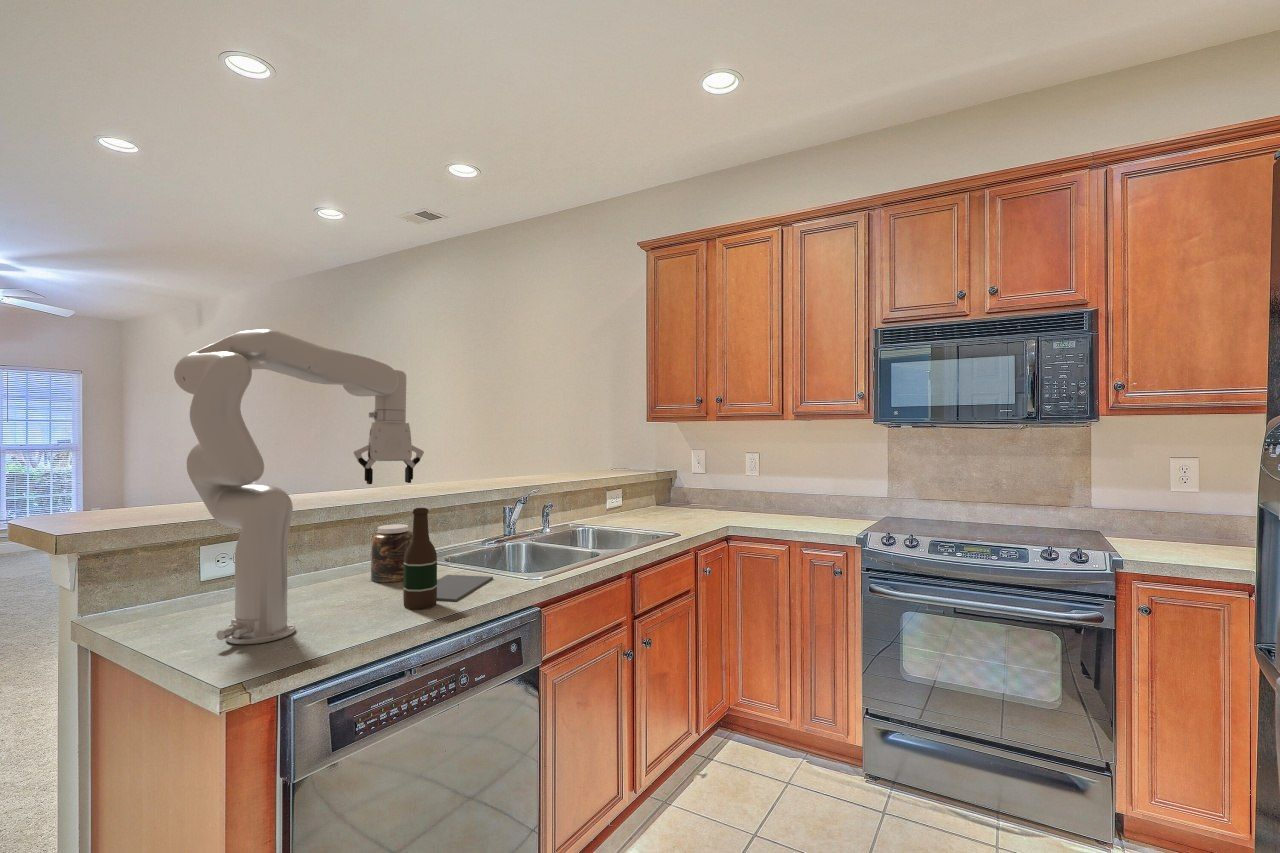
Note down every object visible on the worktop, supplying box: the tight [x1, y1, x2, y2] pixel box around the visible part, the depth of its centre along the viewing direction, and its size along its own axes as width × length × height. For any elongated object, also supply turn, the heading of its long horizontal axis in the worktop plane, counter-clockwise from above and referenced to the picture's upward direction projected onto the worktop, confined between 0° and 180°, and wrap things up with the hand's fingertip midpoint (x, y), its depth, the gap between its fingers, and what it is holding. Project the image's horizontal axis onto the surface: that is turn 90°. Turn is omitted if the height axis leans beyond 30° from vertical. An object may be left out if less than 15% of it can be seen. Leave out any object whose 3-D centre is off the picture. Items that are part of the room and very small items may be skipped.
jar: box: [370, 523, 413, 584], centre depth 183 cm, size 12×12×15 cm
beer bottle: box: [402, 507, 438, 611], centre depth 155 cm, size 8×8×24 cm
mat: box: [436, 574, 494, 602], centre depth 172 cm, size 24×14×1 cm, turn 171°
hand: (389, 483), depth 164 cm, fingers open, 9 cm apart
